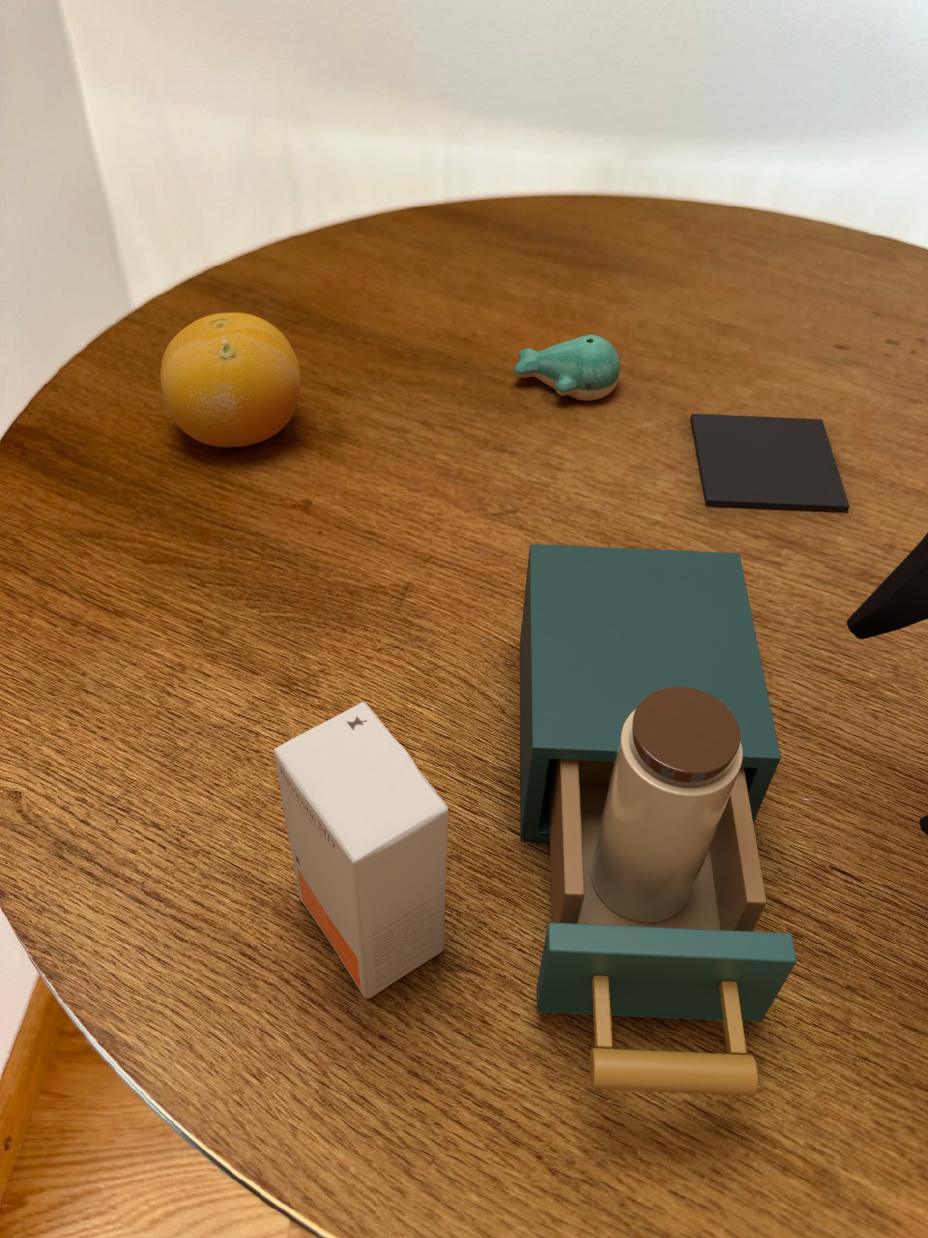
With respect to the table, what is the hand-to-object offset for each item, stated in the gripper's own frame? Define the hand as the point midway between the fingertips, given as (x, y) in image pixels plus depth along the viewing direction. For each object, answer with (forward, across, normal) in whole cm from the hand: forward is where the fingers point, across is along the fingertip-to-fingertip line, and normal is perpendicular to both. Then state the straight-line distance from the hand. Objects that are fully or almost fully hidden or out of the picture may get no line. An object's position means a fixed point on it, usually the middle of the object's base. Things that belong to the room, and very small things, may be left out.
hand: (885, 723), depth 40 cm
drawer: (+14, +2, +3) cm, 15 cm away
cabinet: (+14, -9, +4) cm, 17 cm away
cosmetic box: (+23, +1, -4) cm, 24 cm away
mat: (+5, -31, +13) cm, 34 cm away
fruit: (+30, -34, -11) cm, 47 cm away
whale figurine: (+14, -40, +4) cm, 43 cm away
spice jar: (+13, 0, +3) cm, 13 cm away
